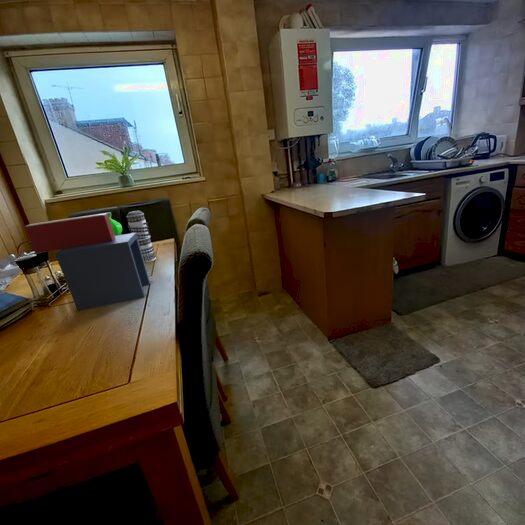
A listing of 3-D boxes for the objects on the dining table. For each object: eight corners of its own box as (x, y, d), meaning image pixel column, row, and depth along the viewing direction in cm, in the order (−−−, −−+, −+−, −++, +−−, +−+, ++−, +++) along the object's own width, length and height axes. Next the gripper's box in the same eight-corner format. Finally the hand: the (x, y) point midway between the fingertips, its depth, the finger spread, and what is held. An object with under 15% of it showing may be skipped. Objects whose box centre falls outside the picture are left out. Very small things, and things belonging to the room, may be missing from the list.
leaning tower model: (150, 256, 148) (137, 209, 139) (160, 258, 142) (148, 209, 134) (134, 262, 141) (120, 213, 132) (144, 264, 135) (130, 213, 127)
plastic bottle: (114, 257, 154) (100, 212, 146) (133, 254, 155) (120, 210, 146) (106, 263, 145) (90, 216, 136) (127, 260, 145) (112, 213, 137)
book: (35, 253, 91) (23, 226, 88) (41, 250, 95) (30, 223, 92) (112, 241, 95) (104, 214, 92) (115, 238, 99) (107, 212, 96)
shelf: (77, 311, 95) (54, 253, 88) (91, 294, 108) (72, 242, 101) (144, 297, 99) (127, 241, 92) (150, 282, 112) (135, 232, 105)
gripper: (-44, 283, 83) (-5, 250, 85) (-7, 274, 101) (24, 247, 104) (-23, 297, 85) (14, 264, 87) (10, 285, 104) (39, 258, 106)
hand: (20, 254), depth 96 cm, fingers open, 8 cm apart
